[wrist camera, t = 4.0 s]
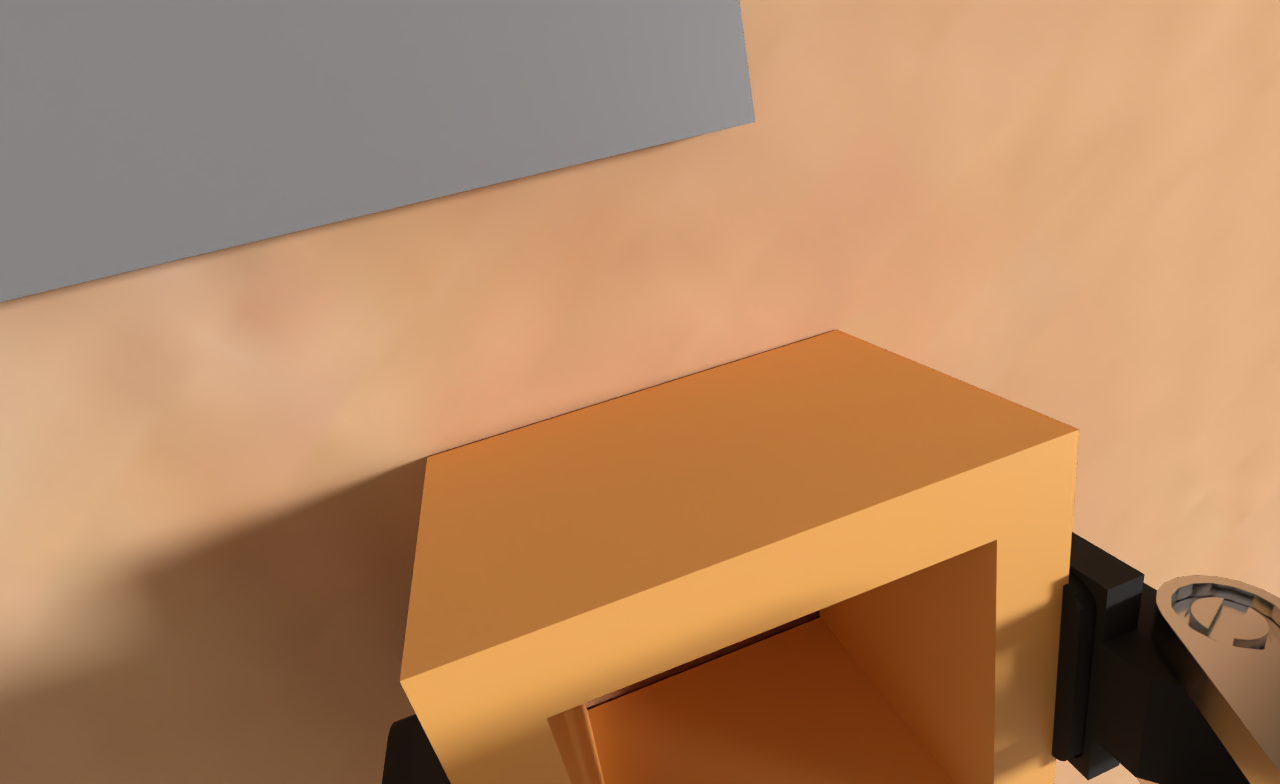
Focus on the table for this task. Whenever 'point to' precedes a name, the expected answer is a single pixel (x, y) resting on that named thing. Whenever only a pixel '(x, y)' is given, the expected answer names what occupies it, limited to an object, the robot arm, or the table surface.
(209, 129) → the plate
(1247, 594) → the robot arm
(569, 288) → the table surface
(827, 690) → the orange open box
